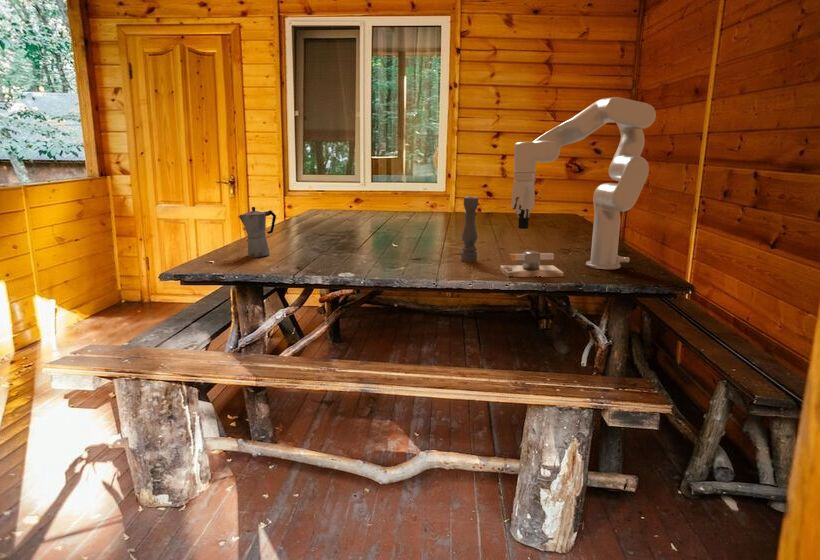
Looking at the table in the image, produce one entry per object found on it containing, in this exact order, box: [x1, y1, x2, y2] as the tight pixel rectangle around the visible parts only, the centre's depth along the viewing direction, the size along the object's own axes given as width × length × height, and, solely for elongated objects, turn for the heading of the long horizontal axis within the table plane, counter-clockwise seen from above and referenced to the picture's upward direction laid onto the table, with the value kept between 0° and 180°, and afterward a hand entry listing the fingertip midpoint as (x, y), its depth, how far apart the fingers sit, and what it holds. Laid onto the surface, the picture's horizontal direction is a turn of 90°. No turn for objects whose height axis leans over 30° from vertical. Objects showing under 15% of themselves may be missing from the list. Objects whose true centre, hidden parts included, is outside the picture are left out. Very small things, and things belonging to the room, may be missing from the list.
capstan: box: [508, 250, 555, 270], centre depth 203 cm, size 16×6×6 cm, turn 99°
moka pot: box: [238, 206, 277, 258], centre depth 229 cm, size 10×15×20 cm, turn 127°
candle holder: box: [460, 196, 479, 263], centre depth 222 cm, size 6×6×25 cm
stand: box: [499, 264, 564, 278], centre depth 204 cm, size 20×12×2 cm, turn 93°
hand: (523, 228), depth 205 cm, fingers closed
